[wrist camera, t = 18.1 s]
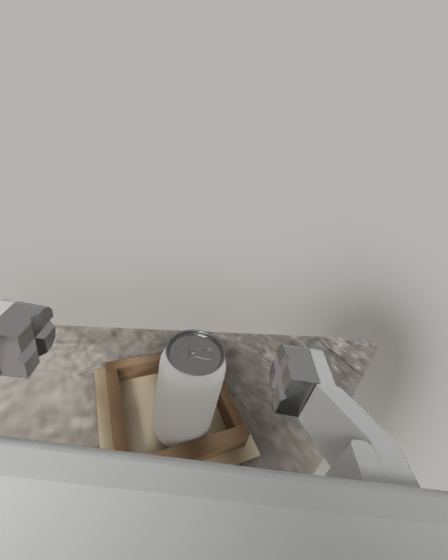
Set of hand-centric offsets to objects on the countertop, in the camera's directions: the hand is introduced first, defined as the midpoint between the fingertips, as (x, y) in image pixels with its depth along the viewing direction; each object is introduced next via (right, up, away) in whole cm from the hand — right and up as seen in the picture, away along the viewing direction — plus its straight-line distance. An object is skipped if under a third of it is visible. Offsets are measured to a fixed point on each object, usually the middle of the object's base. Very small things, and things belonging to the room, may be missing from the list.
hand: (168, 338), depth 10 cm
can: (-3, -15, +23) cm, 27 cm away
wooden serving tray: (-4, -14, +24) cm, 28 cm away
